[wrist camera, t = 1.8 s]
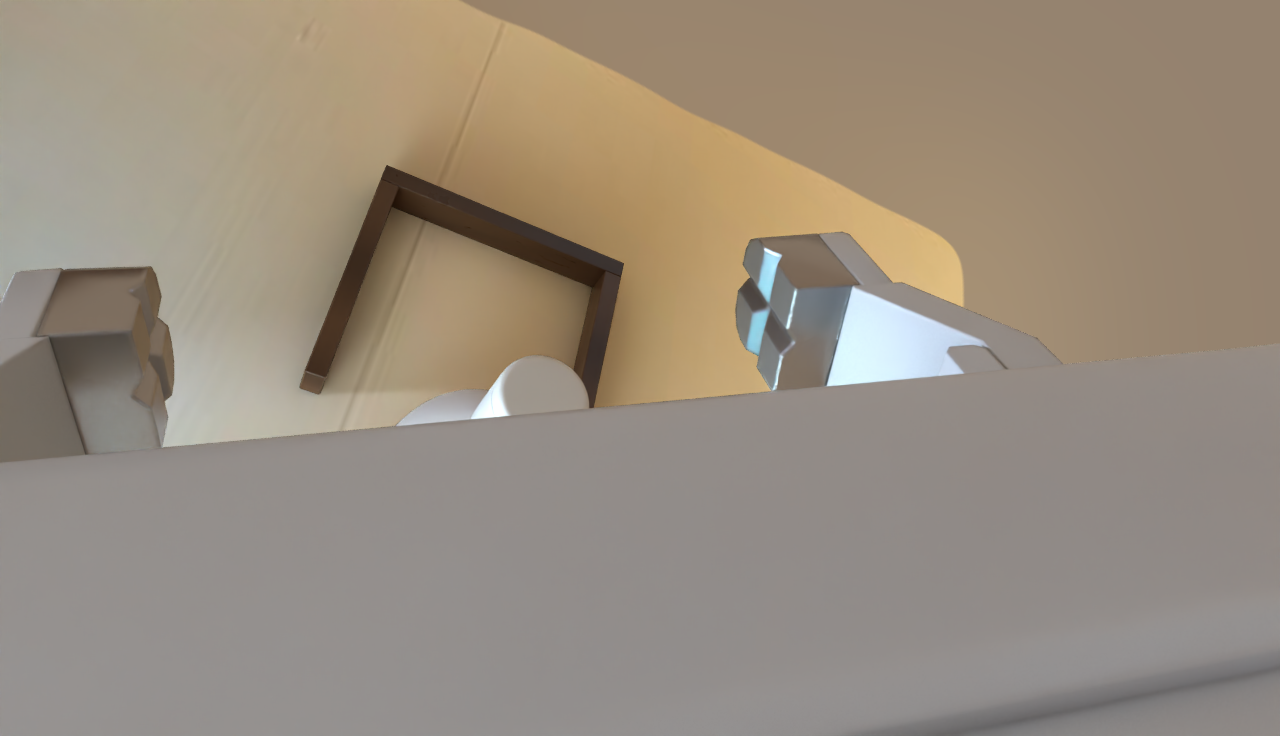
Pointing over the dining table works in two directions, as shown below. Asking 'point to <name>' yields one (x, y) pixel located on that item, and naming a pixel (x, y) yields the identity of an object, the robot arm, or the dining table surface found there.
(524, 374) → the bath foam
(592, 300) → the stand
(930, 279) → the dining table surface
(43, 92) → the dining table surface
